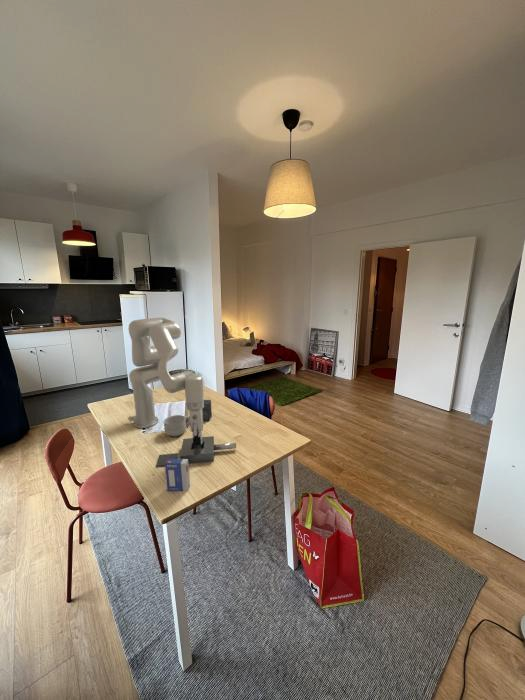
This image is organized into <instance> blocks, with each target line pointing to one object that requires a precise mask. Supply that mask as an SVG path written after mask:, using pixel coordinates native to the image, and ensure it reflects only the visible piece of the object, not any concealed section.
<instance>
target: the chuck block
mask: <svg viewBox="0 0 525 700" xmlns="http://www.w3.org/2000/svg"><path fill="white" fill-rule="evenodd" d="M202 445H203V448H202V449H194V448H193V437H189V438H188V437H187V438H183V439H182V443H181V450H180V454H179V459H188V465H189V464H198V463H207V462H208V463H210V462H215V451H221V450H223V451H224V450H233V449H237V443H236V442H231V443H228V442H227V443H219V444H215V436H214V435H212V436H211V435H210V436H202Z"/></svg>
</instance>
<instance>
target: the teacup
mask: <svg viewBox="0 0 525 700" xmlns="http://www.w3.org/2000/svg"><path fill="white" fill-rule="evenodd" d="M187 419H188V420H187ZM188 425H190V415H189V414H188V415H182V414H174V415H171V416H167V417H166V418H164V419H163V427H164V432H165V433H166V434H167V435H168V436H170V437H178V436H180V435H182V434H184V432H185V431H186V428H187V426H188Z"/></svg>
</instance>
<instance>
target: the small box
mask: <svg viewBox="0 0 525 700" xmlns="http://www.w3.org/2000/svg"><path fill="white" fill-rule="evenodd" d="M202 412H203V422H210V421H211V419H212V417H213V414H212V400H211V399H204V408H202Z"/></svg>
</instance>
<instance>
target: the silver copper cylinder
mask: <svg viewBox="0 0 525 700" xmlns="http://www.w3.org/2000/svg"><path fill="white" fill-rule="evenodd" d="M197 430H198V429H197ZM191 433H192V435H193V432H191ZM197 433H198V432H197ZM200 437H201V445H195V446H194V445H193V448H194V449H202V448H203V445H202V437H203V430H202V431H200Z"/></svg>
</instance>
